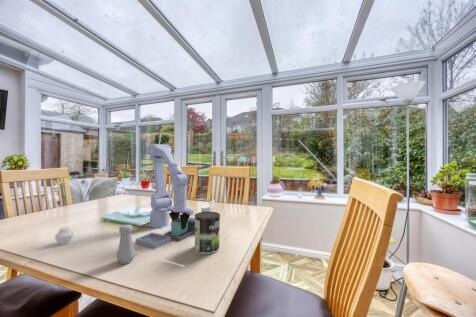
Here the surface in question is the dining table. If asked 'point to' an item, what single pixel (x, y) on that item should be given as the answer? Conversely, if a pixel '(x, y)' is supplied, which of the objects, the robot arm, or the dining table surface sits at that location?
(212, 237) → the coffee can
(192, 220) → the bay
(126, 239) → the salt shaker
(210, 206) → the ink cartridge box
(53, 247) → the dining table surface
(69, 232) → the muffin
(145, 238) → the tray
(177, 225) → the teal block grey face
